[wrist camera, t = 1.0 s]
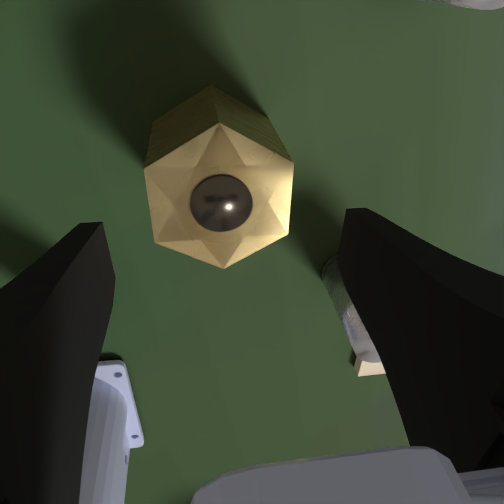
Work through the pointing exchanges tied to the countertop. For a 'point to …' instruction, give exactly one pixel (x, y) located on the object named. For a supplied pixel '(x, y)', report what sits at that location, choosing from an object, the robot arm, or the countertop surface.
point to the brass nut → (217, 179)
